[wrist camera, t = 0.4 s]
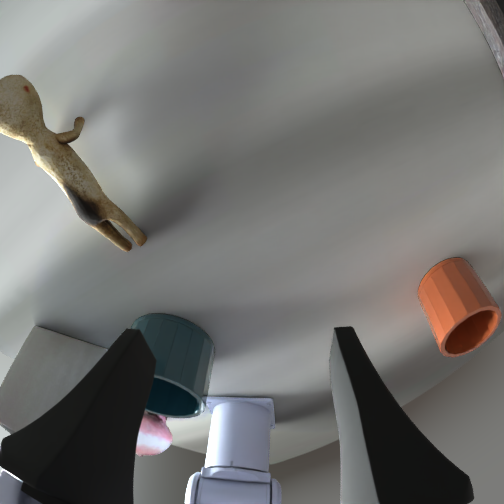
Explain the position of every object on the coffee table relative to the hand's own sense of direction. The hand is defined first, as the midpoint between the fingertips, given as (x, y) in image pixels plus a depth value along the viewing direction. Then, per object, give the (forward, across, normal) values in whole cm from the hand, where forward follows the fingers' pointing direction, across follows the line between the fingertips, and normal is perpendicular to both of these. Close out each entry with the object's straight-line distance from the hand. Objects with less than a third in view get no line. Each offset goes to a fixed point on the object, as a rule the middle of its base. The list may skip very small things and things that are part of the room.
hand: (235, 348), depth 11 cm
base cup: (+10, +9, +12) cm, 18 cm away
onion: (+10, +18, +30) cm, 36 cm away
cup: (+10, -15, +6) cm, 19 cm away
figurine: (+10, +11, -6) cm, 16 cm away
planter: (+10, +26, +15) cm, 32 cm away
